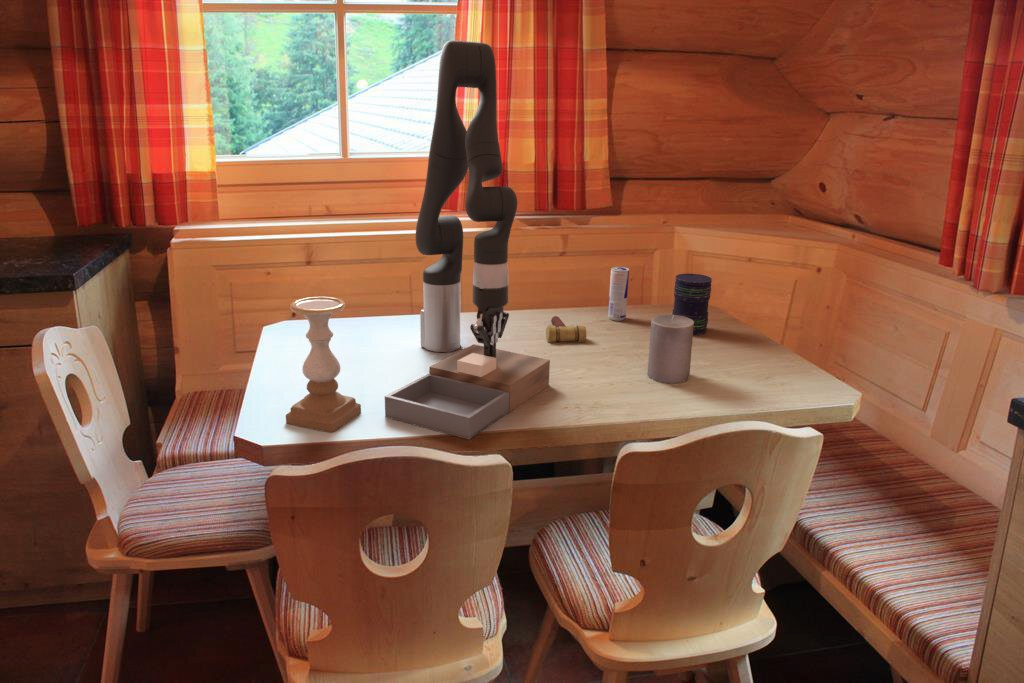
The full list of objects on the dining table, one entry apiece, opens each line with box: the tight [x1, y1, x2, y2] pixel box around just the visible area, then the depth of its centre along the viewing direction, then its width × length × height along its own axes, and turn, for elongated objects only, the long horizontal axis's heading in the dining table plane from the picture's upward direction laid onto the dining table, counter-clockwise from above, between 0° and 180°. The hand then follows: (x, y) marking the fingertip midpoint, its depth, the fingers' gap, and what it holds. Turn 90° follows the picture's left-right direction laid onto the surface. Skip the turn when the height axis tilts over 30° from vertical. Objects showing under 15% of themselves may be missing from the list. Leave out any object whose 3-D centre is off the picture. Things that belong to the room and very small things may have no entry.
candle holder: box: [285, 296, 362, 433], centre depth 157 cm, size 11×11×24 cm
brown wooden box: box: [428, 343, 551, 413], centre depth 176 cm, size 20×18×6 cm
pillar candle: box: [646, 314, 694, 384], centre depth 184 cm, size 10×10×15 cm
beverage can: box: [607, 266, 630, 322], centre depth 228 cm, size 5×5×15 cm
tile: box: [457, 353, 496, 377], centre depth 170 cm, size 6×6×2 cm
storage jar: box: [671, 273, 713, 337], centre depth 219 cm, size 10×10×15 cm
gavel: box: [545, 315, 587, 344], centre depth 218 cm, size 21×5×10 cm
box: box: [384, 373, 510, 441], centre depth 162 cm, size 20×15×4 cm
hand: (489, 359), depth 174 cm, fingers closed
